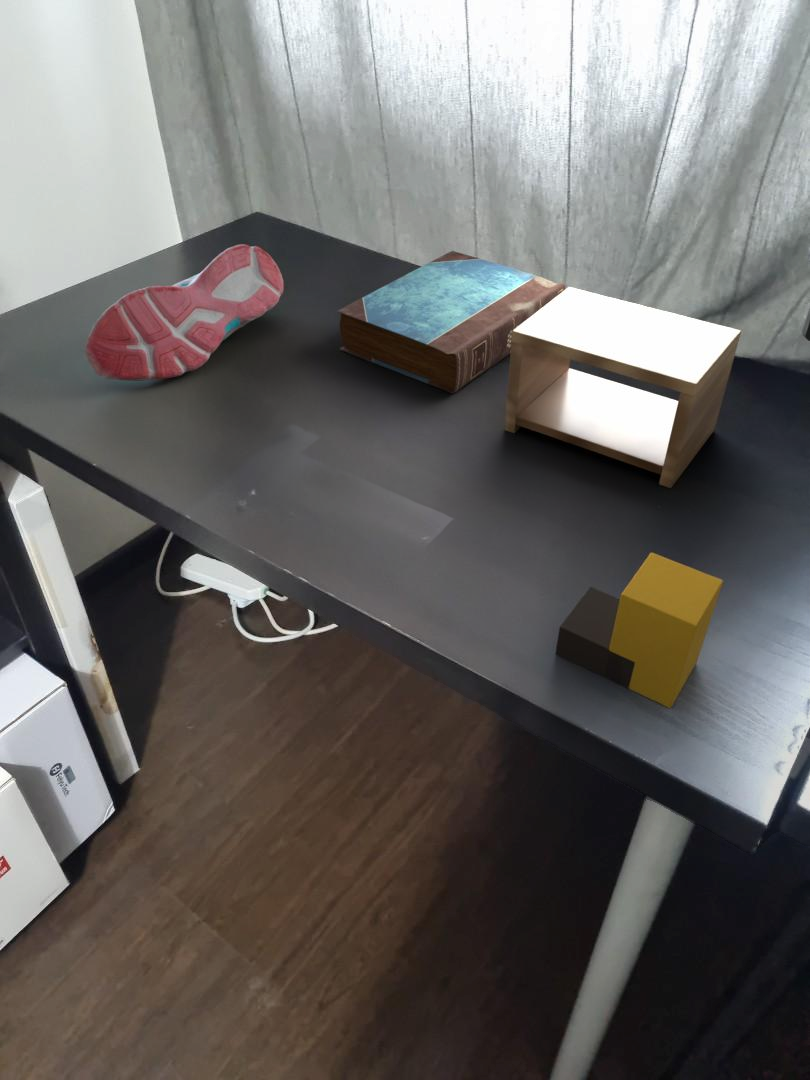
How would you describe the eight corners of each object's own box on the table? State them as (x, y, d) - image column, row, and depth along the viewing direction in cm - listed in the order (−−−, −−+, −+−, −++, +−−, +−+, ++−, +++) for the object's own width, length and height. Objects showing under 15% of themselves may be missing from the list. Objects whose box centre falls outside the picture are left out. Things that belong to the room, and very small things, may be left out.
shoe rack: (714, 430, 85) (741, 330, 78) (670, 488, 78) (696, 384, 71) (557, 381, 93) (568, 286, 86) (504, 430, 86) (512, 330, 78)
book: (455, 395, 91) (457, 354, 88) (337, 349, 100) (334, 310, 96) (561, 321, 105) (566, 283, 101) (449, 286, 113) (450, 249, 110)
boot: (696, 662, 62) (723, 580, 56) (670, 709, 58) (696, 626, 53) (585, 613, 66) (600, 531, 60) (555, 654, 62) (568, 571, 57)
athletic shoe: (266, 306, 111) (203, 232, 107) (300, 281, 104) (233, 201, 99) (133, 434, 99) (55, 357, 94) (160, 417, 91) (77, 332, 87)
